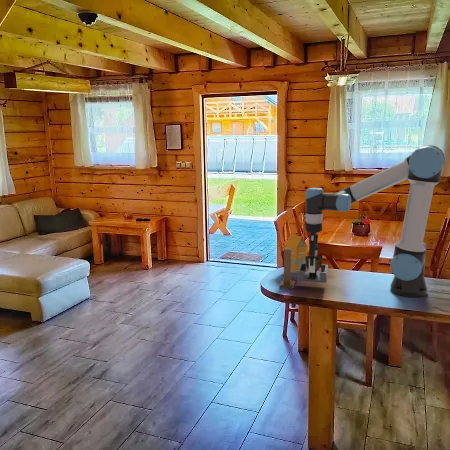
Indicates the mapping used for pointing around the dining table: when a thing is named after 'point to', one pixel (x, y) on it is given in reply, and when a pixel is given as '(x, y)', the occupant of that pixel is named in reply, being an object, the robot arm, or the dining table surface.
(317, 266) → the cup
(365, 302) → the dining table surface
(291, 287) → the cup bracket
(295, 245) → the orange juice
